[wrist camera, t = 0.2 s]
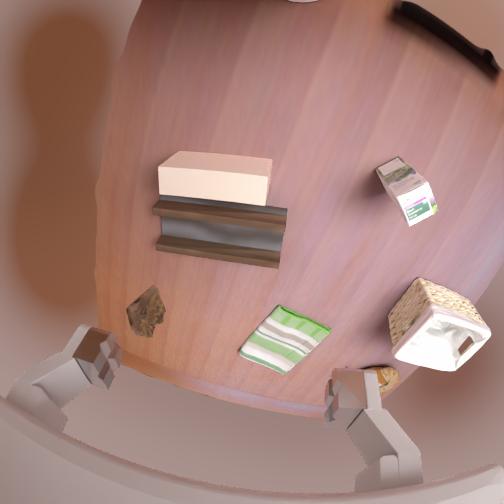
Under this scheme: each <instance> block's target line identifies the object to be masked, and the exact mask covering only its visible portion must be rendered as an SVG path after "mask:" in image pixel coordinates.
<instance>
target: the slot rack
mask: <svg viewBox="0 0 504 504" xmlns="http://www.w3.org/2000/svg"><path fill="white" fill-rule="evenodd" d="M152 212H153V215H159V216H161V222H162V236H161V237H160V239H159V240H158V242H157V243H156V250H158V251H164V252H171V253H177V254H183V255H190V256H196V257H203V258H209V259H216V260H222V261H229V262H236V263H242V264H249V265H256V266H263V267H269V268H276V269H279V263H280V252H281V246H282V240H283V234H284V232H285V227H286V215H287V209H285V208H279V207H272V206H261V205H254V204H246V203H238V202H229V201H221V200H212V199H203V198H193V197H183V196H173V195H162V194H161V195H160V200H159V201H158V202H157V203H156V204H155V206H154V207H153V208H152Z"/></svg>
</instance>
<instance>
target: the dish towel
mask: <svg viewBox="0 0 504 504" xmlns="http://www.w3.org/2000/svg"><path fill="white" fill-rule="evenodd" d="M280 306H281V305H278V306H277V307H276V308H275V309H274V310H273V311H272V312H271V314H270V315H269V316H268V317H267V318H266V319H264V320H263V322H262V323H261V324H260V325H259V326H258V328H257V329H256V330H255V331H254V332H253V333H252V334H251V335H250V336H249V337H248V339H247V340H246V342H245V343H244V344H243V346H242V347H241V348H240V350H239V354H240V355H241V356H242V357H244V358H246V359H248V360H251V361H253V362H256V363H259V364H261V365H264V366H267V367H269V368H271V369H273V370H276V371H278V372H279V373H281V374H283V375H284V374H286V373H287V372H289V371H290V370H291V369H292V368H293V367H294V366H295V365H296V364H297V363H299V362H300V361H301V360H302V359H304V358H305V357H306V355H307V354H308V353H309V352H310V351H312V350H313V349H314V348H315V347H316V346H317V345H318V344H319V343H320V342H321V341H322V340H323V339H324V338H325V337H326V336H327V335H328V334H330V332H331V329H330V328H328V327H326V326H325V325H323V324H320V323H318V322H316V321H314V320H312V319H310V318H308V317H305V316H303V315H301V314H298V313H296V312H294V311H292V310H290V309H288V308H285V307H282V308H281V307H280Z"/></svg>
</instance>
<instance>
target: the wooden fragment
mask: <svg viewBox="0 0 504 504" xmlns="http://www.w3.org/2000/svg"><path fill="white" fill-rule="evenodd" d="M158 293H159V292H158V289H157V287H156V286H155V285H153V286H152V287H151V288H150V289H149V290H148V291H147V292H145V293H144V294H143V295H142V296H141V297H140V298H139V299H138V300H137V301H135V302H134V303H133V304H132V305H131V306H130V307H129V308H128V309H127V314H128V318H129V322H130V326H131V329H132V333H133V334H136V335H139V336H144V337H147V338H149V337H153V336H152V334H153V330H154V328H155V327H154V325H156V324H157V323H159V324H160V323H162V321H163V314H164V312H166V311H165V308H164V305H163V302H162V301H161V299H160V297H159V294H158Z"/></svg>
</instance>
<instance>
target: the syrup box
mask: <svg viewBox="0 0 504 504" xmlns="http://www.w3.org/2000/svg"><path fill="white" fill-rule="evenodd" d="M375 170H376V172H377V174H378V176H379V178H380V180H381V182H382V184H383V186H384V188H385V190H386V192H387V194H388V195H389V196H390V197H391V199H392V200H393V202H394V203H395V205H396V207H397V208H398V210H399V211H400V213H401V215H402V216H403V218H404V220H405V221H406V223H407V224H408V226H411V225H413V224H415V223H417V222H419V221H421V220H423V219H425V218H427V217H429V216H431V215H432V214H434V213H436V212H438V209H437V206H436V203H435V199H434V197H433V194H432V191H431V189H430V186H429V184H428V182H427V181H426V180H425V179H424V178H423V177H422V176H421V175H419V174H418V173H417V172H416V171H415V170H414V169H413V168H412V167H411V166H410V165H409V164H407V163H406V162H405V161H404V160H403V159H402V158H401V157H397V158H395V159H393V160H391V161H389V162H387V163H386V164H384V165H382V166H380V167H378V168H376V169H375Z"/></svg>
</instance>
